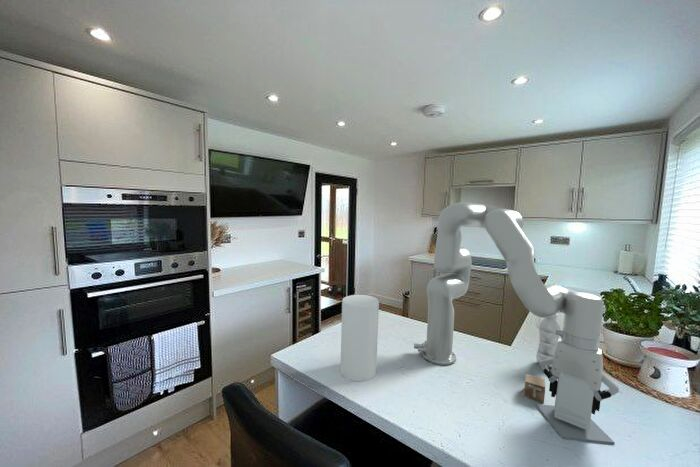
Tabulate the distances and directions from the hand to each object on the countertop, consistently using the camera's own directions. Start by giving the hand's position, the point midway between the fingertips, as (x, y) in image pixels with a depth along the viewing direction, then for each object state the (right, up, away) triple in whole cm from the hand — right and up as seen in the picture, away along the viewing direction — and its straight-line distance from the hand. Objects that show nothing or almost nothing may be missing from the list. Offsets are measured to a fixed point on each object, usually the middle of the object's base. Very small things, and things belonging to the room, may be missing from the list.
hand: (572, 402), depth 75 cm
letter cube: (-3, -5, +12) cm, 13 cm away
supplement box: (0, -4, +1) cm, 4 cm away
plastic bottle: (+13, -4, +29) cm, 32 cm away
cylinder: (-57, -2, +22) cm, 61 cm away
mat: (0, -6, 0) cm, 6 cm away
